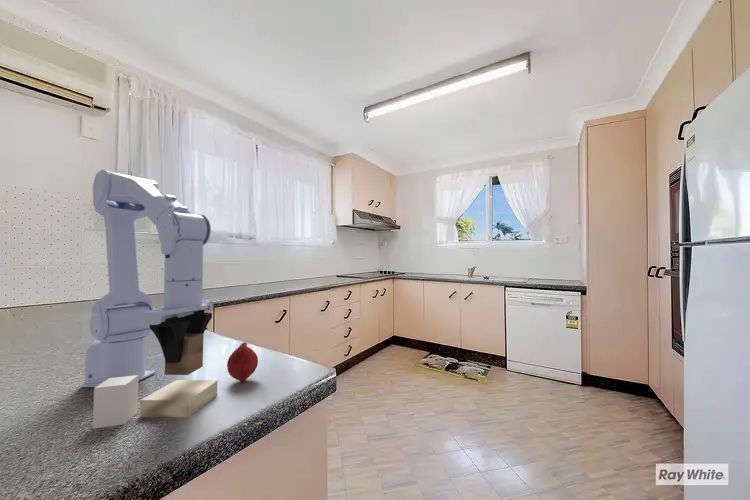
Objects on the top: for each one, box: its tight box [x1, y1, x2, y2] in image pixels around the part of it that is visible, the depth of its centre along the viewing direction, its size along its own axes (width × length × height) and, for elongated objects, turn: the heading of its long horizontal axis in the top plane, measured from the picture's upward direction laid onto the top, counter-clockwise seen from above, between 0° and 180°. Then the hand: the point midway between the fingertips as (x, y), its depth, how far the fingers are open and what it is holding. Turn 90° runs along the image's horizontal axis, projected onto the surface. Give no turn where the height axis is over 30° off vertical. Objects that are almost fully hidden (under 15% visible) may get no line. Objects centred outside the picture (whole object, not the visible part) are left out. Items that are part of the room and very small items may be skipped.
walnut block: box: [164, 332, 205, 376], centre depth 51 cm, size 4×4×6 cm
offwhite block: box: [92, 375, 139, 429], centre depth 46 cm, size 4×4×6 cm
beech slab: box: [139, 379, 219, 418], centre depth 51 cm, size 8×8×3 cm
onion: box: [226, 341, 259, 383], centre depth 61 cm, size 6×6×8 cm
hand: (182, 358), depth 51 cm, fingers closed on walnut block, 4 cm apart
